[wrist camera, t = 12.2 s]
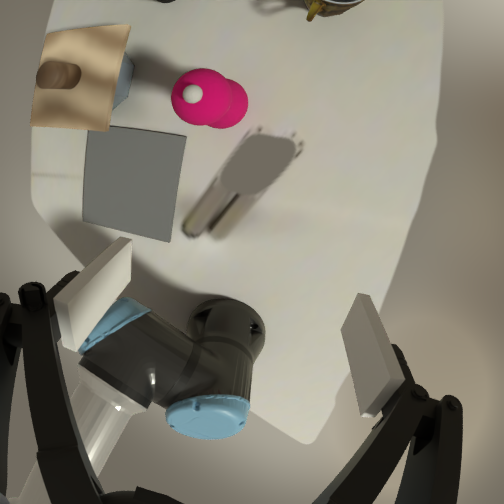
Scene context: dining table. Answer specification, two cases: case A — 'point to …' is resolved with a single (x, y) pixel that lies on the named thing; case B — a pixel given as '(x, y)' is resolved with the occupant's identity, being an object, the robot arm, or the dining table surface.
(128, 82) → the bowl
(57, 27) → the dining table surface
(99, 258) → the robot arm
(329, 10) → the ceramic cup
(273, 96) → the dining table surface
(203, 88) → the pepper mill
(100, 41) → the lid
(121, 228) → the mat
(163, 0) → the drinking cup
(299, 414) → the dining table surface
